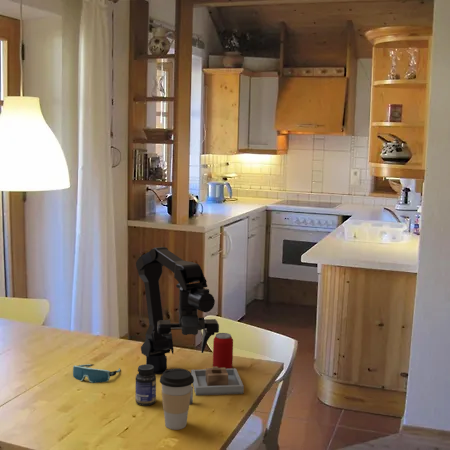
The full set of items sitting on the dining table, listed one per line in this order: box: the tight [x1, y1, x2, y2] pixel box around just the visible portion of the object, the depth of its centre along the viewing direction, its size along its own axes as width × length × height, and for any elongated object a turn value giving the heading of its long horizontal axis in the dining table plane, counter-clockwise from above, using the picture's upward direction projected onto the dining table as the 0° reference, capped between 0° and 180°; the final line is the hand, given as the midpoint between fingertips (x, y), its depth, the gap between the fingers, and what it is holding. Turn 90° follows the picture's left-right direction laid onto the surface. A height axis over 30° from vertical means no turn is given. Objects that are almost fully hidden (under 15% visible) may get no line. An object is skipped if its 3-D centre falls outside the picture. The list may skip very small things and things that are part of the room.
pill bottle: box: [135, 363, 157, 407], centre depth 193 cm, size 6×6×11 cm
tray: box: [190, 368, 245, 396], centre depth 208 cm, size 15×15×2 cm
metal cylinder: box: [189, 385, 194, 406], centre depth 194 cm, size 2×2×5 cm
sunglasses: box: [72, 363, 121, 384], centre depth 215 cm, size 14×15×5 cm
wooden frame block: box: [205, 366, 228, 386], centre depth 208 cm, size 6×8×4 cm
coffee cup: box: [159, 367, 194, 431], centre depth 179 cm, size 9×9×15 cm
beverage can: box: [212, 332, 234, 369], centre depth 222 cm, size 7×7×12 cm
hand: (187, 352), depth 201 cm, fingers open, 9 cm apart
